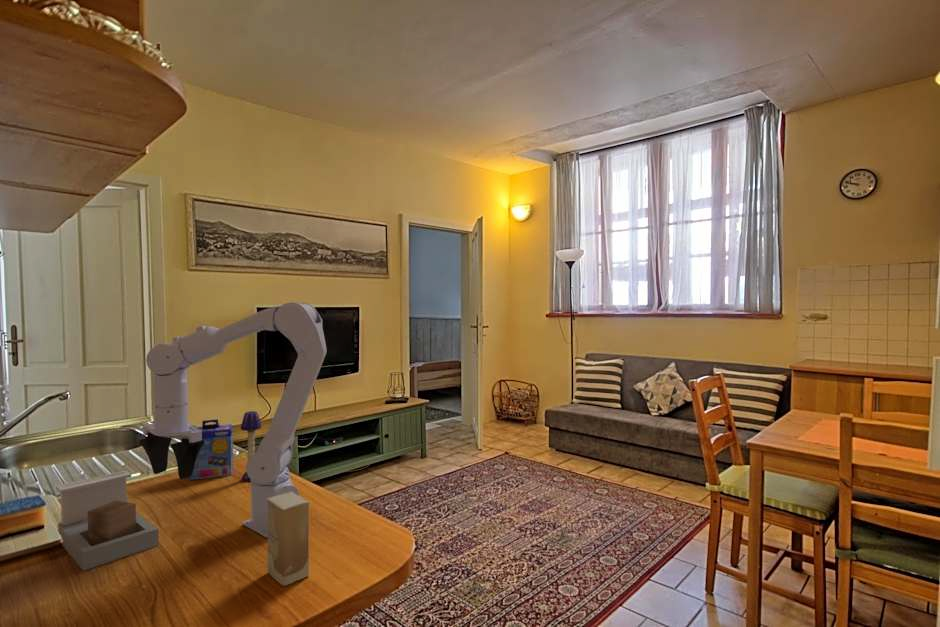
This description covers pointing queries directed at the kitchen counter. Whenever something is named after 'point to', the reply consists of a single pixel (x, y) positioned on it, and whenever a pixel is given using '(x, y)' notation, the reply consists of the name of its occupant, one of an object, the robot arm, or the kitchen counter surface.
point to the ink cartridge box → (214, 451)
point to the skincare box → (288, 538)
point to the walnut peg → (111, 522)
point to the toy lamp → (250, 434)
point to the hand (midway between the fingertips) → (172, 475)
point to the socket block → (75, 521)
